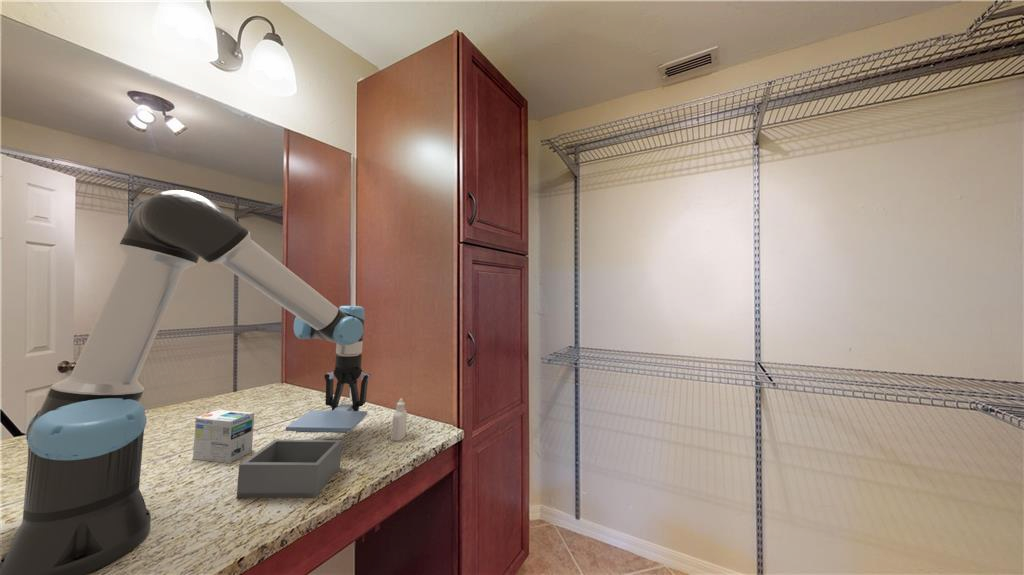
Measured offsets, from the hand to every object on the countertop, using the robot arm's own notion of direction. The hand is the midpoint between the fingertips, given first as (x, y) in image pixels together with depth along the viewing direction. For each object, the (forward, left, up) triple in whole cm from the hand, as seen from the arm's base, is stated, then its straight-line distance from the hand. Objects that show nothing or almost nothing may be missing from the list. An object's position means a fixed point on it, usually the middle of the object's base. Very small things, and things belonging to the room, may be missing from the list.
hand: (344, 427), depth 103 cm
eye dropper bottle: (+18, -4, -1) cm, 18 cm away
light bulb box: (-24, -16, -2) cm, 29 cm away
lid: (0, -8, +4) cm, 9 cm away
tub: (0, -28, -1) cm, 28 cm away
